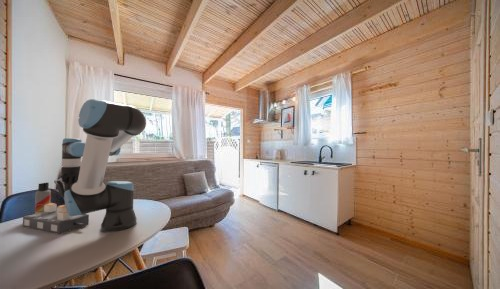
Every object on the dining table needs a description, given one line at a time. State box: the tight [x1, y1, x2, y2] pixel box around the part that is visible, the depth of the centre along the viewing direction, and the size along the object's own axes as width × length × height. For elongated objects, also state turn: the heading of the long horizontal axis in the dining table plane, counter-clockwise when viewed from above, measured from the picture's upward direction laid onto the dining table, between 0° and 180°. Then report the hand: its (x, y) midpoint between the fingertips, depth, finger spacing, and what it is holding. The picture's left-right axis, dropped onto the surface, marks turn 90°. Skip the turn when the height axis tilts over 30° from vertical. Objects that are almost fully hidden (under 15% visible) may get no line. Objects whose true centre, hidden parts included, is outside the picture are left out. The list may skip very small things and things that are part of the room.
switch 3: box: [44, 202, 58, 212], centre depth 97 cm, size 4×3×4 cm
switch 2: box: [56, 204, 66, 214], centre depth 95 cm, size 4×3×4 cm
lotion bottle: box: [34, 182, 52, 214], centre depth 102 cm, size 6×6×20 cm
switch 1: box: [57, 210, 71, 221], centre depth 87 cm, size 4×3×4 cm
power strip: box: [22, 208, 90, 235], centre depth 91 cm, size 33×12×6 cm, turn 75°
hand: (69, 209), depth 97 cm, fingers closed
